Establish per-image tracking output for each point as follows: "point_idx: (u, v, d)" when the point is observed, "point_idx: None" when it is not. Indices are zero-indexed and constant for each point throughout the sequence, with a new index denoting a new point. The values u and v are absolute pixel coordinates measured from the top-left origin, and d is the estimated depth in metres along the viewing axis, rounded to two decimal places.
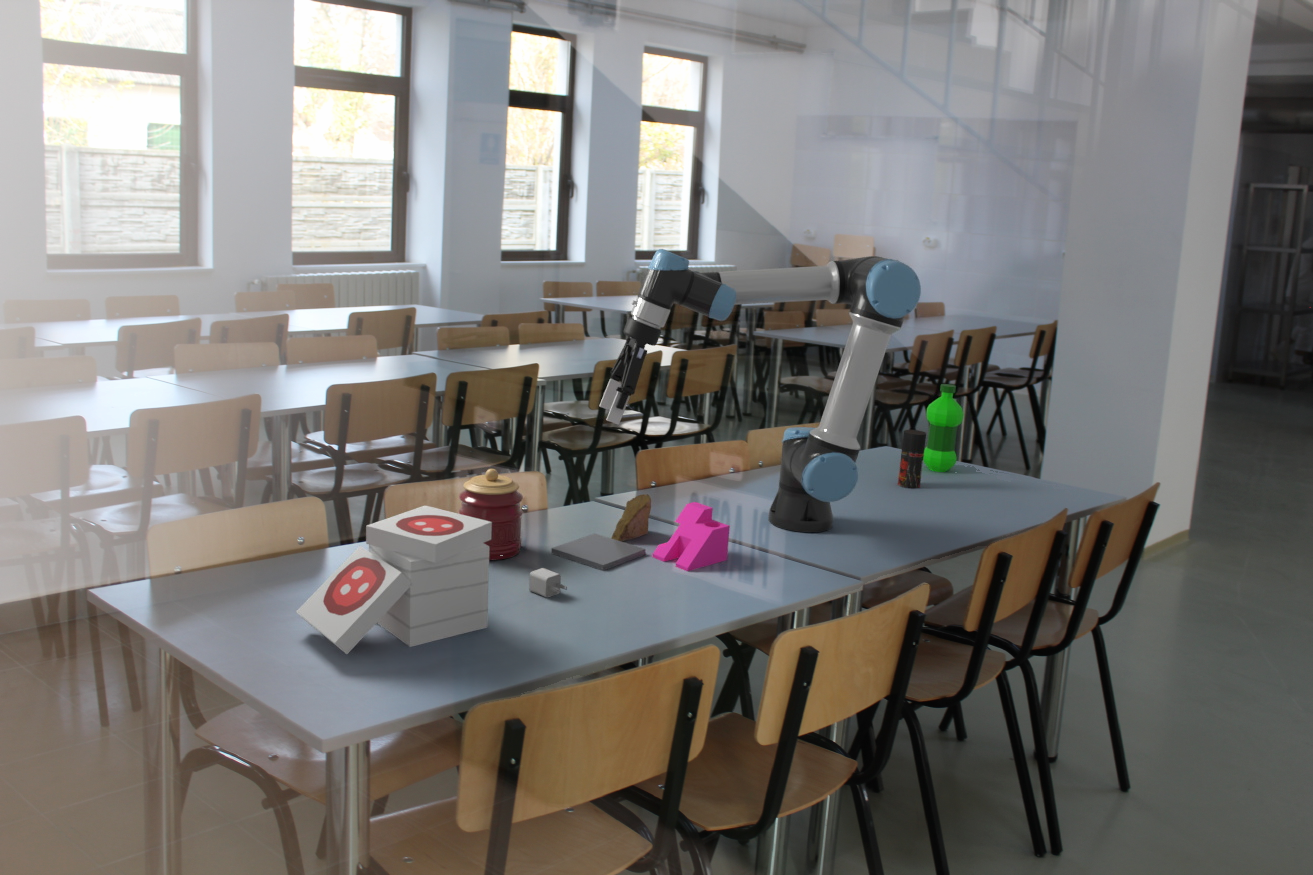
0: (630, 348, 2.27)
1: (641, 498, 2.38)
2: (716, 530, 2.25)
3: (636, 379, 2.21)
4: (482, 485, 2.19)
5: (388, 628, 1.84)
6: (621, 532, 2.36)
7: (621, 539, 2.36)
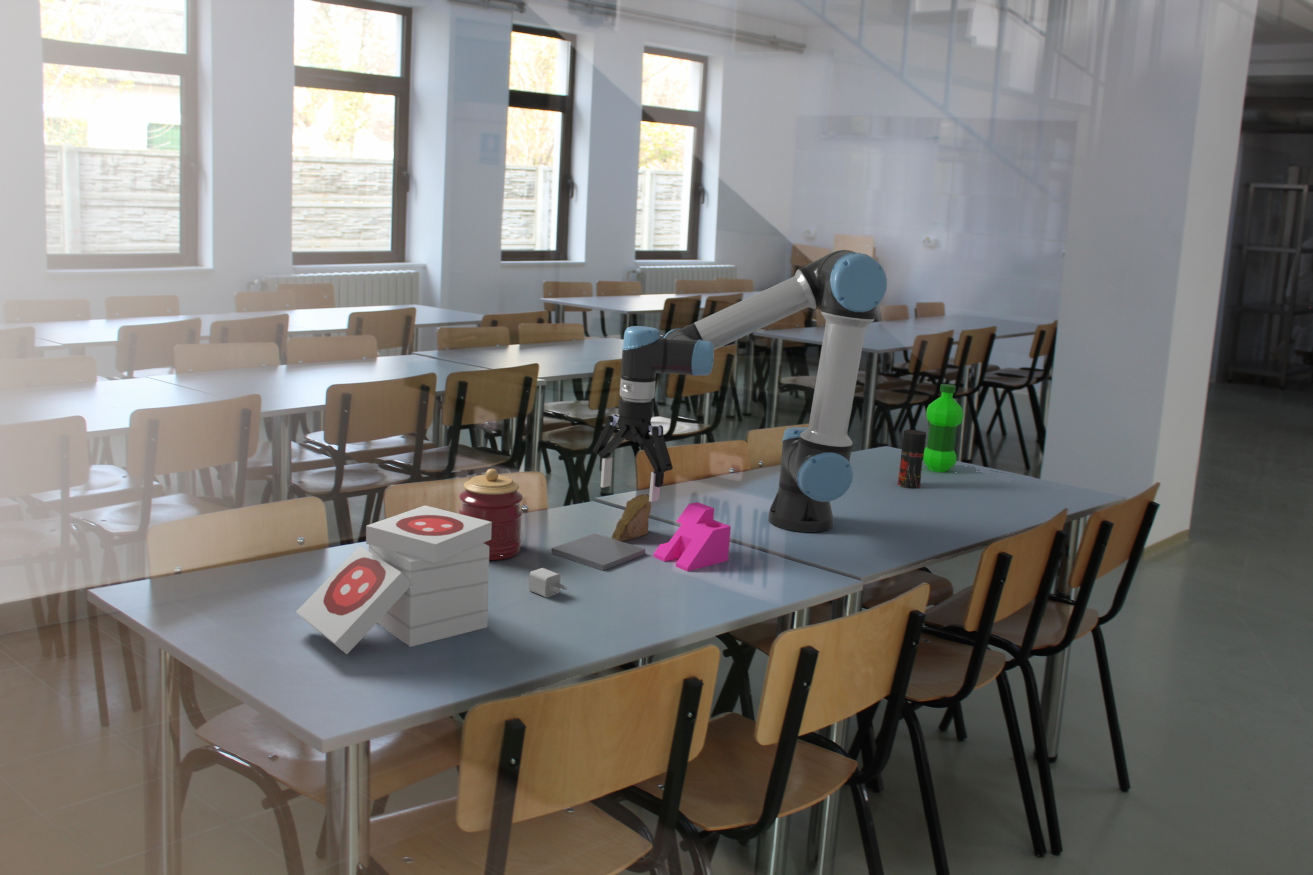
0: (637, 428, 2.33)
1: (641, 498, 2.38)
2: (717, 530, 2.25)
3: (668, 455, 2.32)
4: (482, 485, 2.19)
5: (388, 628, 1.84)
6: (621, 532, 2.36)
7: (621, 539, 2.36)
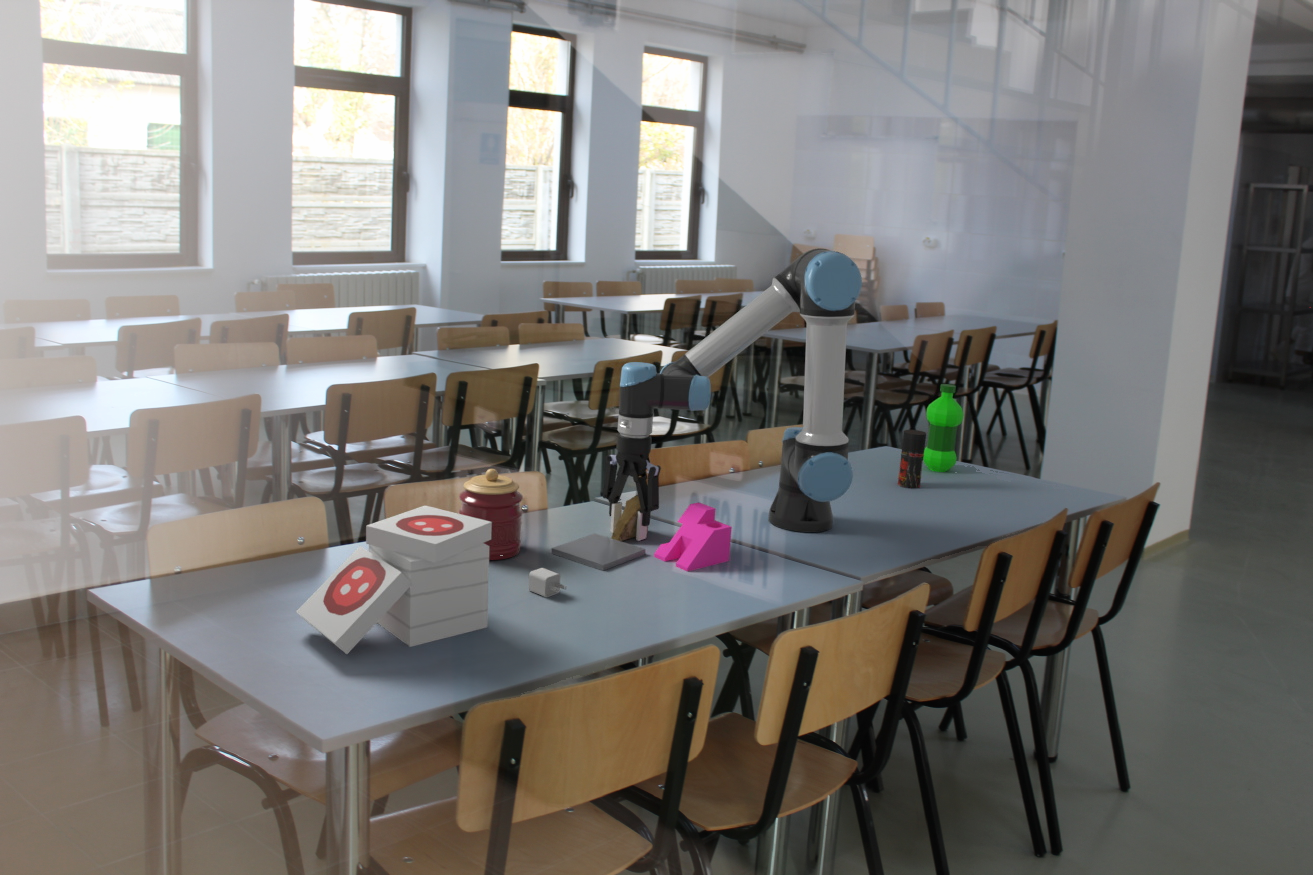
0: (635, 463, 2.35)
1: None
2: (717, 531, 2.25)
3: (657, 495, 2.35)
4: (482, 485, 2.19)
5: (388, 628, 1.84)
6: (621, 531, 2.36)
7: (621, 538, 2.36)
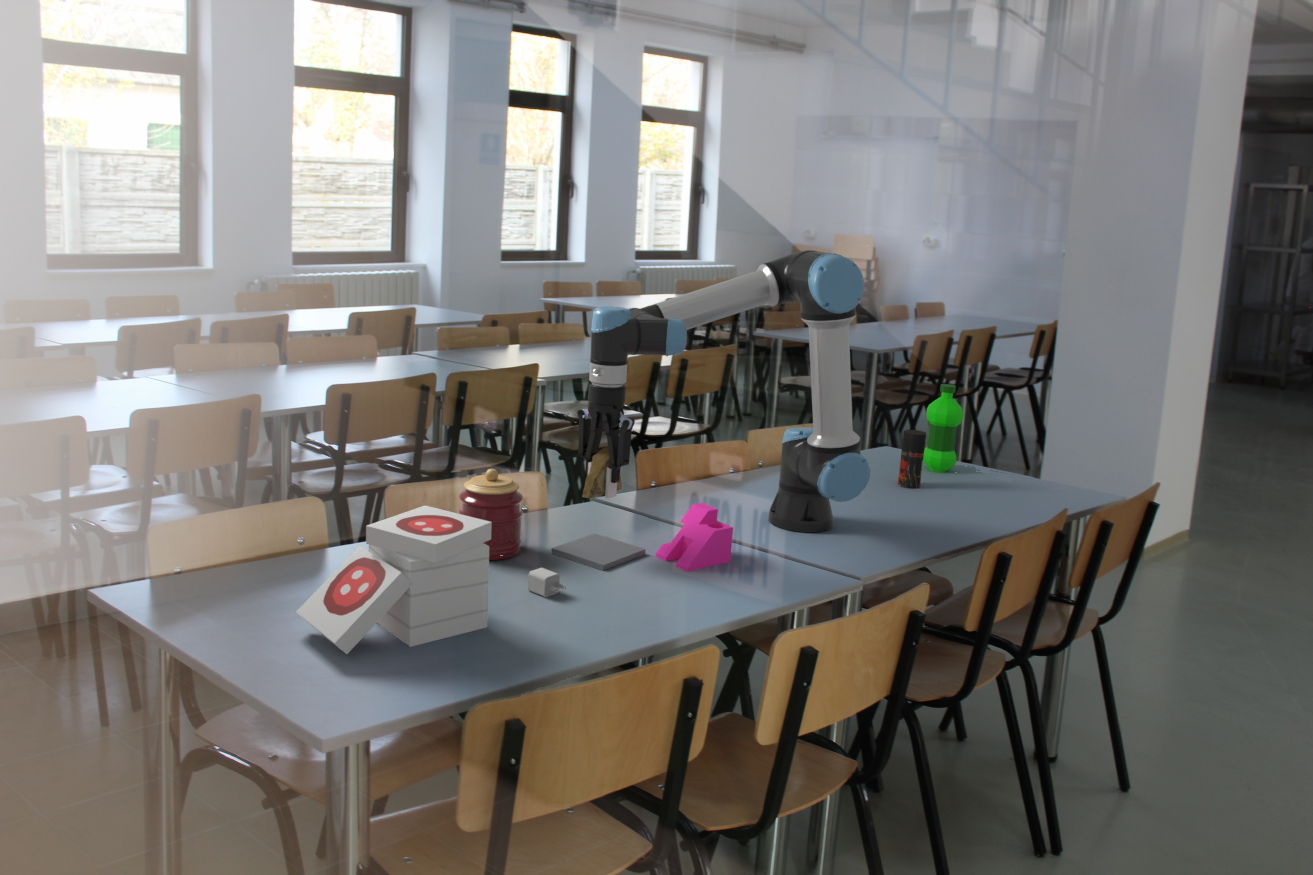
0: (608, 415, 2.19)
1: (607, 450, 2.24)
2: (718, 531, 2.25)
3: (629, 450, 2.20)
4: (482, 485, 2.19)
5: (388, 628, 1.84)
6: (591, 487, 2.20)
7: (592, 495, 2.21)
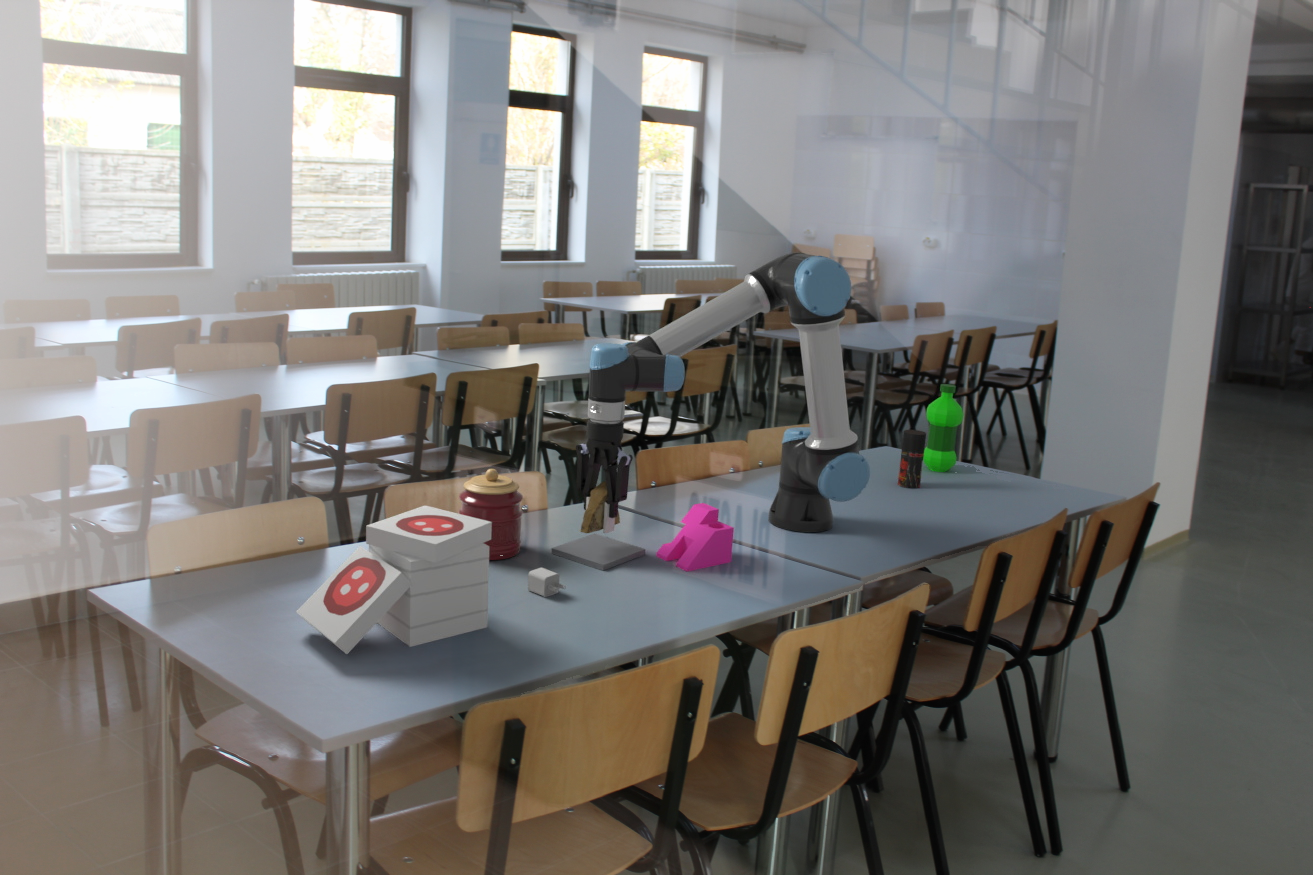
0: (606, 451, 2.21)
1: (605, 485, 2.25)
2: (719, 531, 2.25)
3: (626, 486, 2.22)
4: (482, 485, 2.19)
5: (388, 628, 1.84)
6: (589, 522, 2.22)
7: (590, 530, 2.23)
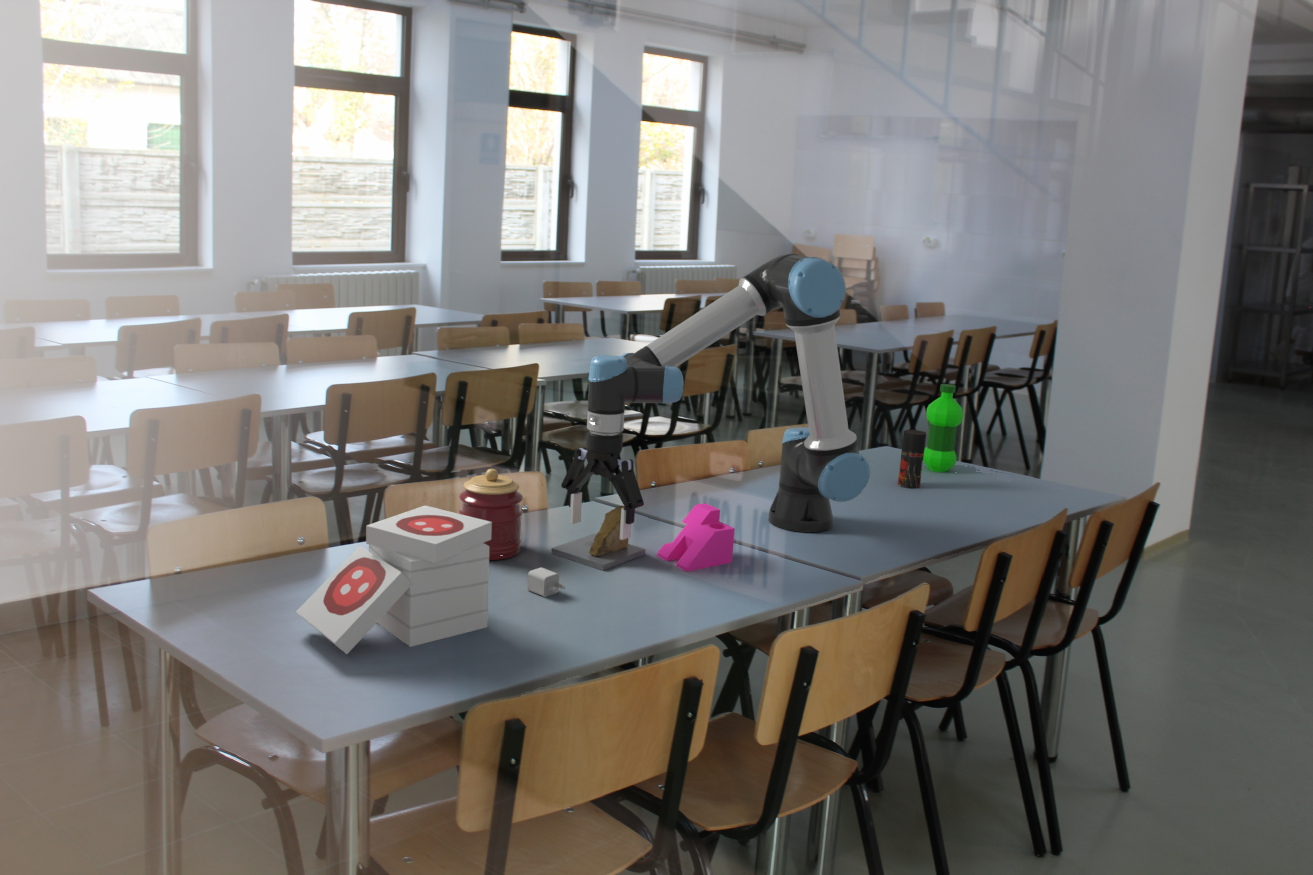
0: (606, 463, 2.22)
1: (620, 510, 2.25)
2: (719, 532, 2.24)
3: (638, 490, 2.20)
4: (482, 485, 2.19)
5: (388, 628, 1.84)
6: (599, 546, 2.22)
7: (599, 553, 2.23)
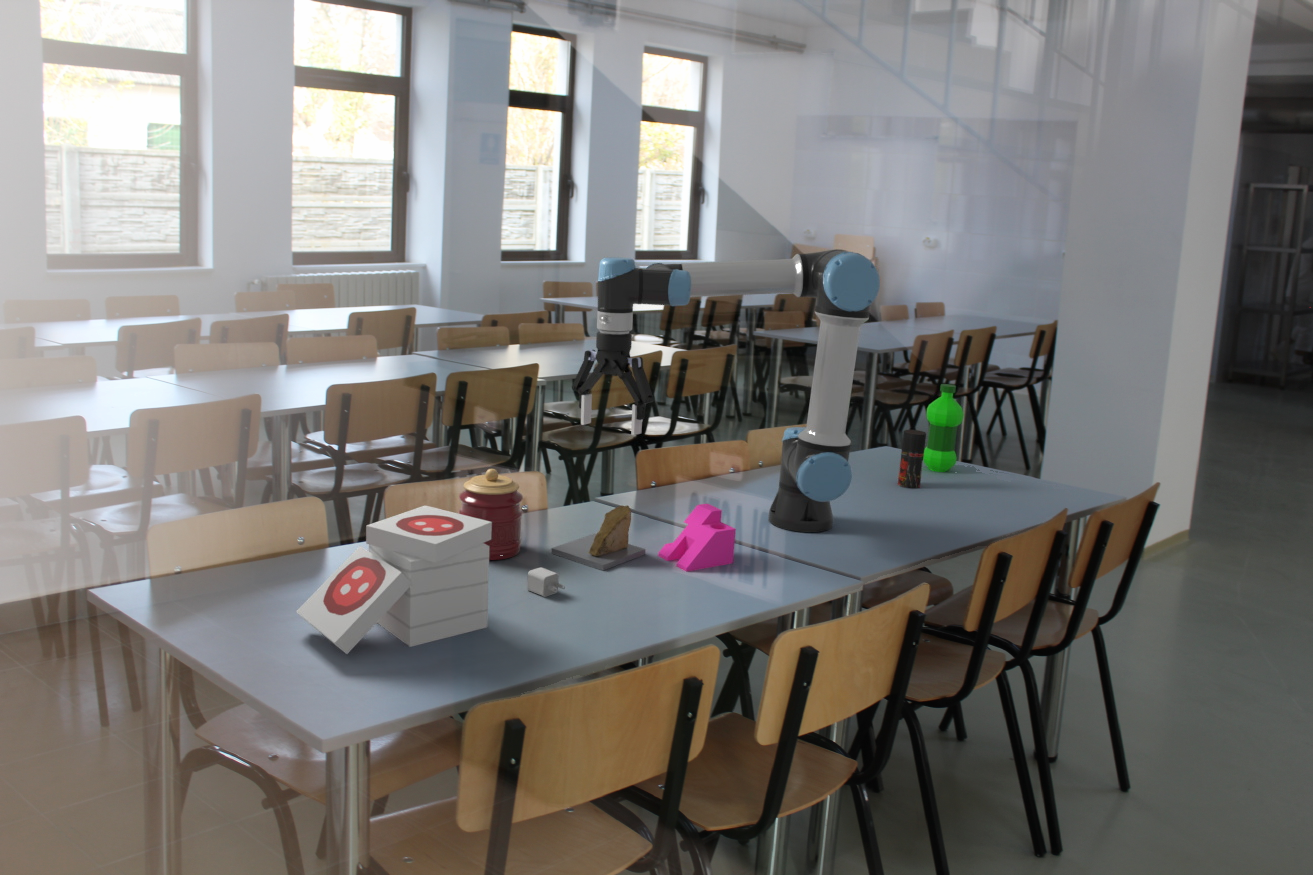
0: (616, 361, 2.30)
1: (620, 510, 2.25)
2: (720, 532, 2.24)
3: (648, 387, 2.29)
4: (482, 485, 2.19)
5: (388, 628, 1.84)
6: (599, 546, 2.22)
7: (599, 553, 2.23)
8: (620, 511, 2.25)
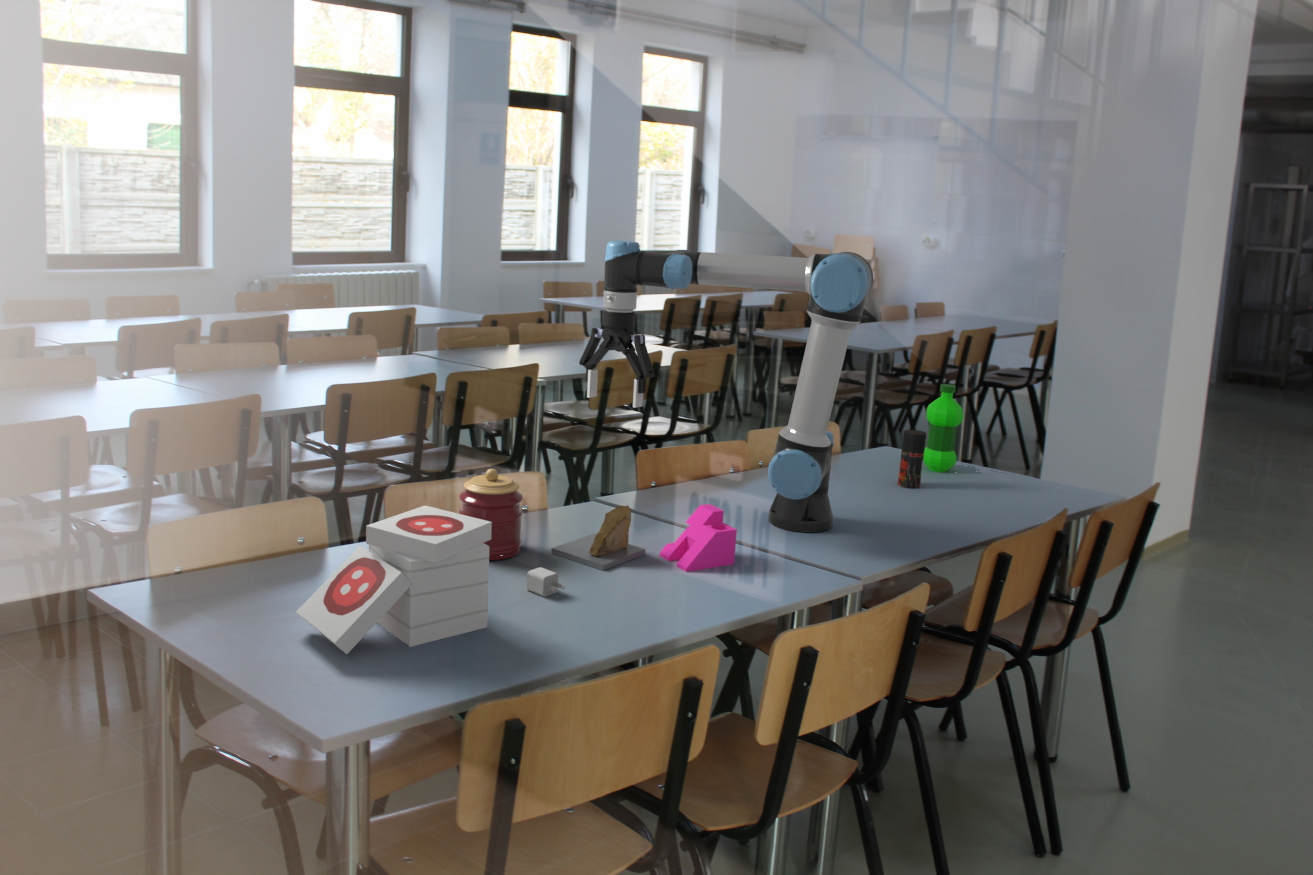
0: (620, 338, 2.45)
1: (620, 510, 2.25)
2: (720, 533, 2.24)
3: (650, 362, 2.44)
4: (482, 485, 2.19)
5: (388, 628, 1.84)
6: (599, 546, 2.22)
7: (599, 553, 2.23)
8: (620, 511, 2.25)
